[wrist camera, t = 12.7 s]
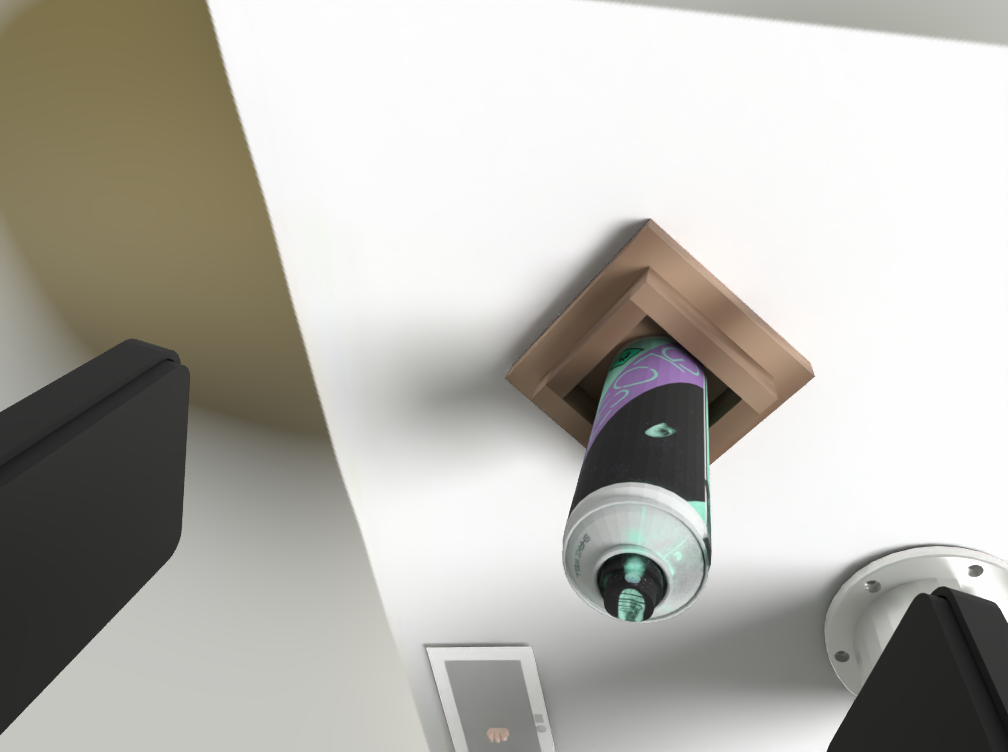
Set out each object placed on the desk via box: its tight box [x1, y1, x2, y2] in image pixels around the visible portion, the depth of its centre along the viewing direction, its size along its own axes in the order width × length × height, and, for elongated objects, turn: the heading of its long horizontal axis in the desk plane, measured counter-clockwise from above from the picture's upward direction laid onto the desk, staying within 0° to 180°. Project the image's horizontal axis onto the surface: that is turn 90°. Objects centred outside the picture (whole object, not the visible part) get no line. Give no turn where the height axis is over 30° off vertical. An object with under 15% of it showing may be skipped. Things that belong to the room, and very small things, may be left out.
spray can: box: [562, 334, 711, 623], centre depth 36 cm, size 6×6×20 cm
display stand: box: [505, 219, 815, 465], centre depth 45 cm, size 12×12×5 cm
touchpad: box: [426, 646, 556, 752], centre depth 60 cm, size 8×15×2 cm, turn 12°
